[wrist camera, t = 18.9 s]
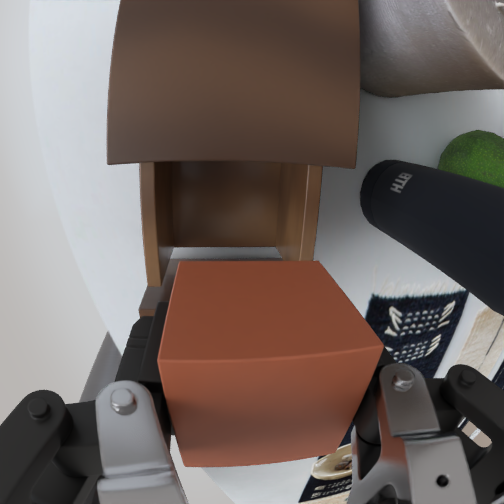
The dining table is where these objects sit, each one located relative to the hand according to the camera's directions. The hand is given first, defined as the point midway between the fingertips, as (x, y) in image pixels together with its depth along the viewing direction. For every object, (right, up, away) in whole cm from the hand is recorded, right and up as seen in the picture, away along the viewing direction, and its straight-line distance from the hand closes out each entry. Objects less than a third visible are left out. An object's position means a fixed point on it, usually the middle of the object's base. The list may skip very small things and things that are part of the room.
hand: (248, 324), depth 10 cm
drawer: (-2, +4, +12) cm, 13 cm away
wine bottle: (+12, +7, +14) cm, 20 cm away
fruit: (+20, +11, +14) cm, 26 cm away
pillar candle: (+11, +20, +9) cm, 24 cm away
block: (0, 0, 0) cm, 0 cm away
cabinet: (-1, +16, +9) cm, 18 cm away
